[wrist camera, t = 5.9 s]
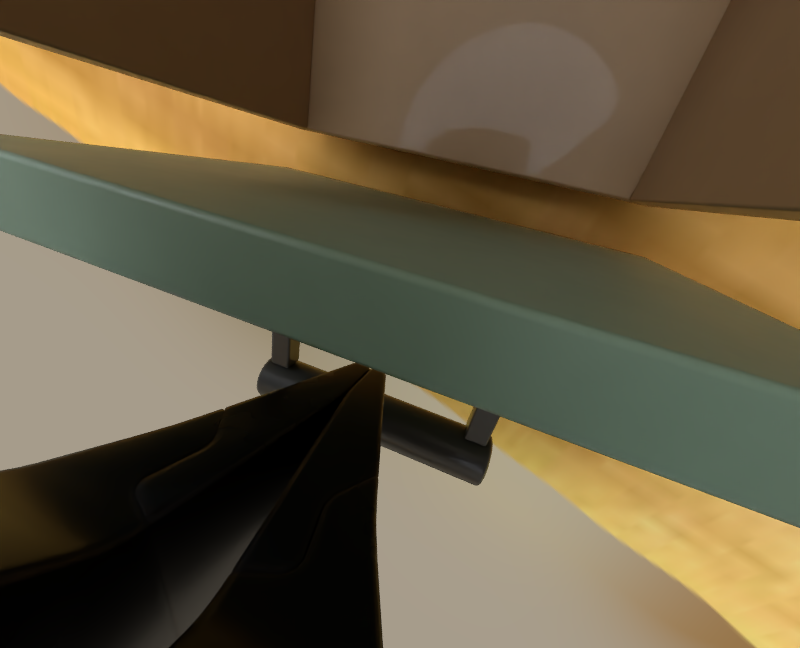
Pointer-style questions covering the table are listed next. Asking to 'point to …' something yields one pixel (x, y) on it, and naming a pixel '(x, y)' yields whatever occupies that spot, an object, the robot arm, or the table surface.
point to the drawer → (455, 230)
